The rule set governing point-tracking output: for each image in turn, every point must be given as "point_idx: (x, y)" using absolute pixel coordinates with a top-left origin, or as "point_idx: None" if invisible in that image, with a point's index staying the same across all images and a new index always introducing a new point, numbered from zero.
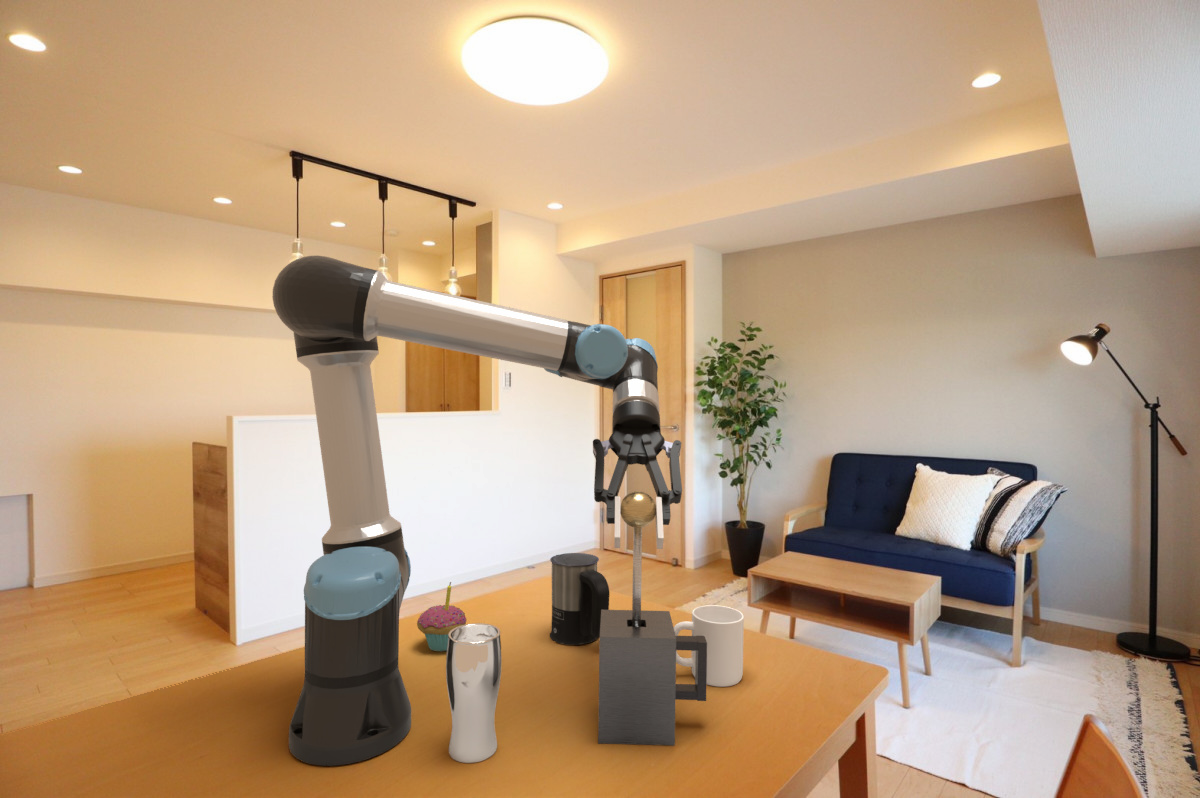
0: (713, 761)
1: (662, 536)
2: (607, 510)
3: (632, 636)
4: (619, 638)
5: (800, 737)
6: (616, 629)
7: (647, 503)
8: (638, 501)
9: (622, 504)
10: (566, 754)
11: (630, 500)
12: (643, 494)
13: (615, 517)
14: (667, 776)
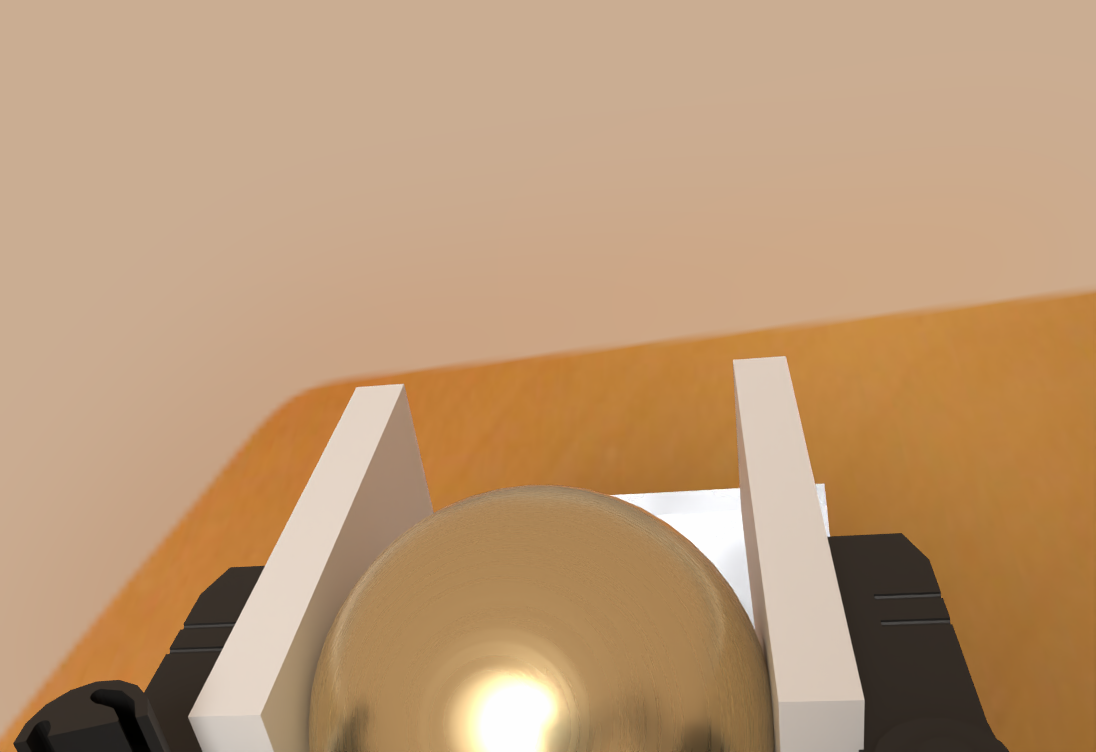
0: (431, 486)
1: (362, 397)
2: (929, 600)
3: (660, 504)
4: (723, 489)
5: (142, 640)
6: (746, 586)
7: (407, 540)
8: (516, 508)
9: (738, 619)
10: (886, 475)
11: (623, 540)
12: (426, 621)
13: (805, 480)
14: (570, 402)
